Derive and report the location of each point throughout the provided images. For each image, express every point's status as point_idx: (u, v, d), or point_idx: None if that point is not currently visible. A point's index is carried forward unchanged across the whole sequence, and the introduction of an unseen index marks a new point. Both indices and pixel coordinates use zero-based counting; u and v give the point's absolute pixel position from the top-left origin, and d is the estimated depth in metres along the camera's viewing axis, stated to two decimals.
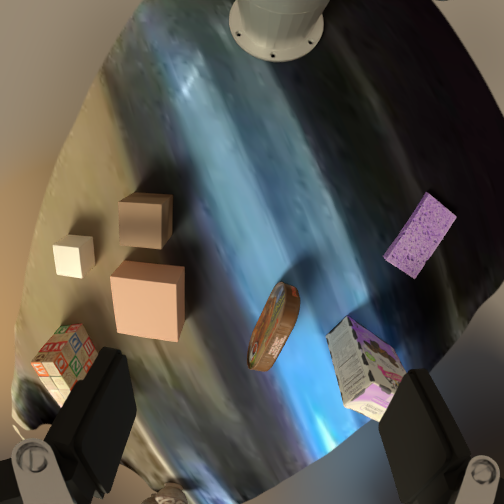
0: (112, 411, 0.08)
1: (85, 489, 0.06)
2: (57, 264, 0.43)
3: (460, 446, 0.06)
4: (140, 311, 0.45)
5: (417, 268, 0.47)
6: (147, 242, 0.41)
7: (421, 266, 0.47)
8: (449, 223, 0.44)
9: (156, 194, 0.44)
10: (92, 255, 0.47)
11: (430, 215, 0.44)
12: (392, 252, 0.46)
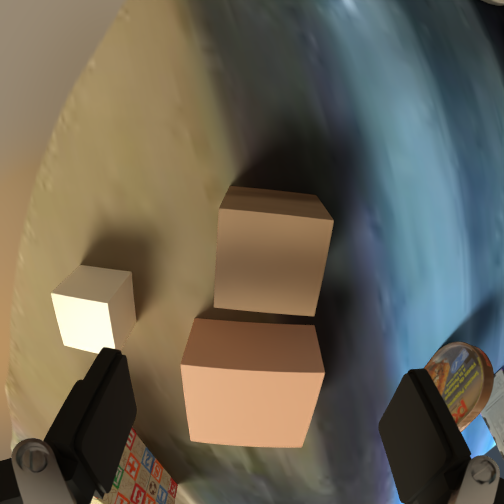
0: (112, 411, 0.08)
1: (85, 489, 0.06)
2: (63, 328, 0.21)
3: (460, 446, 0.06)
4: (240, 415, 0.23)
5: None
6: (283, 303, 0.19)
7: None
8: None
9: (283, 192, 0.21)
10: (131, 307, 0.25)
11: None
12: None
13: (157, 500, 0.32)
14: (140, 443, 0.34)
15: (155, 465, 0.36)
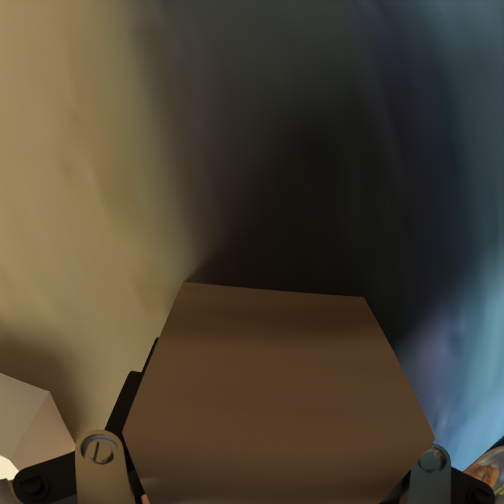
0: None
1: None
2: None
3: None
4: None
5: None
6: None
7: None
8: None
9: (298, 301, 0.10)
10: (61, 433, 0.13)
11: None
12: None
13: None
14: None
15: None
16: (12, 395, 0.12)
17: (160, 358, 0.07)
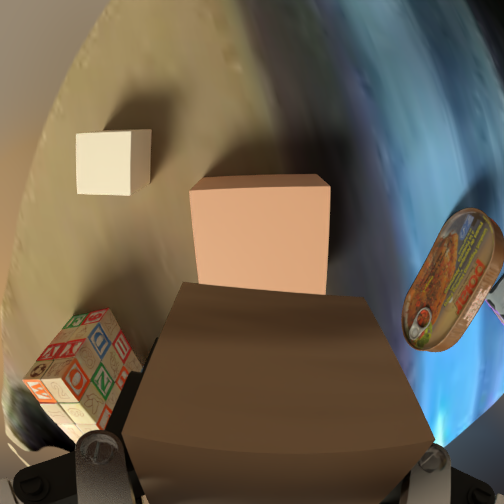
0: None
1: None
2: (80, 172, 0.23)
3: None
4: (252, 256, 0.24)
5: None
6: None
7: None
8: None
9: (298, 301, 0.10)
10: (147, 162, 0.27)
11: None
12: None
13: None
14: (136, 361, 0.35)
15: None
16: None
17: (159, 359, 0.07)
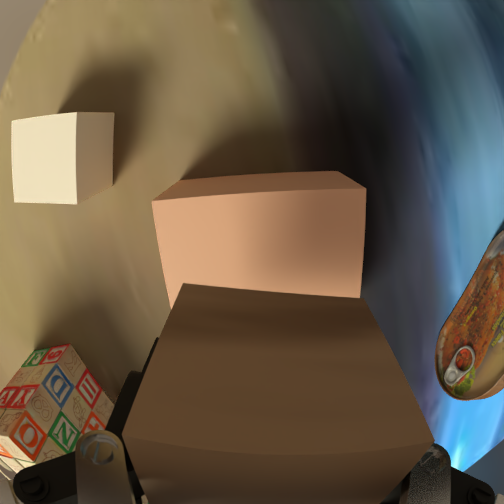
0: None
1: None
2: (17, 173, 0.15)
3: None
4: None
5: None
6: None
7: None
8: None
9: (298, 302, 0.10)
10: (108, 157, 0.19)
11: None
12: None
13: None
14: (108, 403, 0.28)
15: None
16: None
17: (159, 360, 0.07)
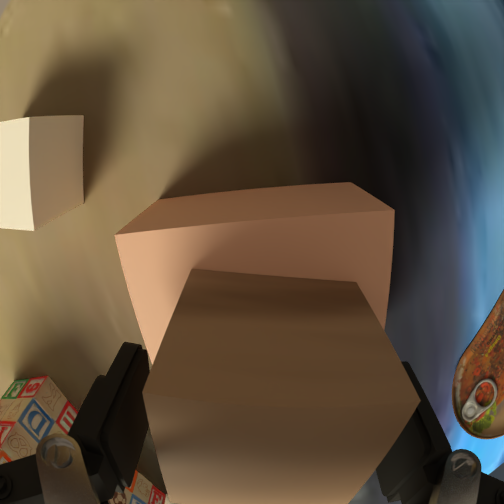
0: (134, 405, 0.08)
1: (109, 483, 0.06)
2: None
3: (439, 439, 0.06)
4: None
5: None
6: (293, 503, 0.08)
7: None
8: None
9: (296, 285, 0.11)
10: (76, 169, 0.15)
11: None
12: None
13: None
14: None
15: None
16: None
17: (174, 331, 0.08)
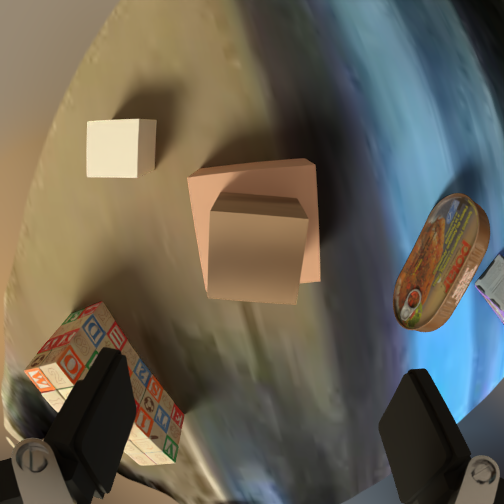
0: (112, 411, 0.08)
1: (85, 489, 0.06)
2: (90, 157, 0.25)
3: (460, 446, 0.06)
4: None
5: None
6: (267, 293, 0.21)
7: None
8: None
9: (267, 197, 0.24)
10: (153, 150, 0.28)
11: None
12: None
13: (156, 421, 0.35)
14: (132, 351, 0.38)
15: (153, 382, 0.39)
16: None
17: (217, 202, 0.21)
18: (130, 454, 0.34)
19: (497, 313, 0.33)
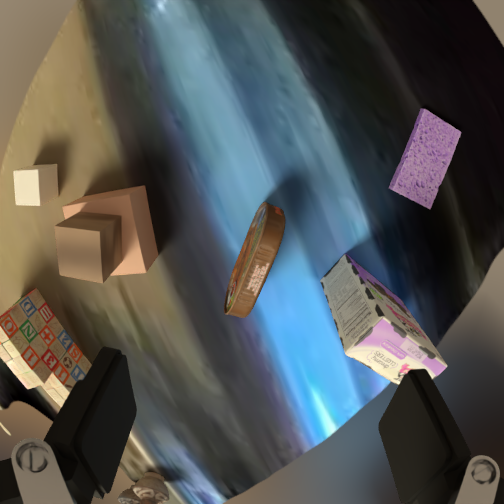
0: (112, 411, 0.08)
1: (85, 489, 0.06)
2: (17, 192, 0.36)
3: (460, 446, 0.06)
4: None
5: (430, 196, 0.39)
6: (87, 274, 0.32)
7: (434, 193, 0.39)
8: (455, 140, 0.36)
9: (102, 215, 0.35)
10: (55, 184, 0.39)
11: (432, 132, 0.36)
12: (398, 180, 0.38)
13: (73, 375, 0.47)
14: (58, 324, 0.49)
15: (74, 348, 0.50)
16: (42, 165, 0.38)
17: (65, 220, 0.32)
18: (58, 402, 0.45)
19: None
